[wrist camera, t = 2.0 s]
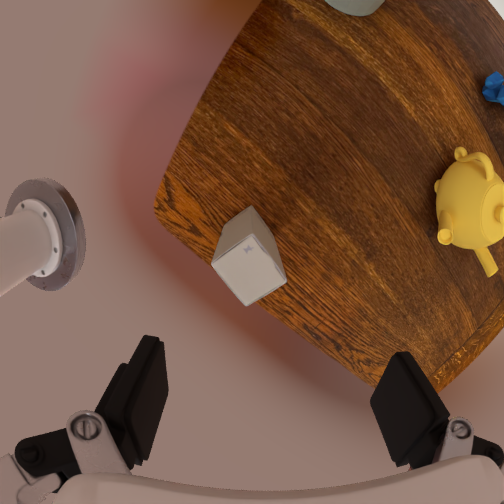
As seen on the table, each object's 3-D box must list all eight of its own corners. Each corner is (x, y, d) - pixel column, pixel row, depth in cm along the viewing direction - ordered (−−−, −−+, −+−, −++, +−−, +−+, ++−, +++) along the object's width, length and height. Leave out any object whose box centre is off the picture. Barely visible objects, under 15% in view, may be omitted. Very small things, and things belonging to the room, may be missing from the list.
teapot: (404, 222, 33) (452, 248, 23) (438, 137, 29) (491, 137, 19) (461, 260, 35) (504, 288, 25) (491, 187, 31) (538, 200, 21)
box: (222, 224, 34) (205, 261, 22) (252, 203, 33) (251, 229, 21) (248, 257, 35) (245, 309, 23) (277, 238, 34) (289, 282, 22)
